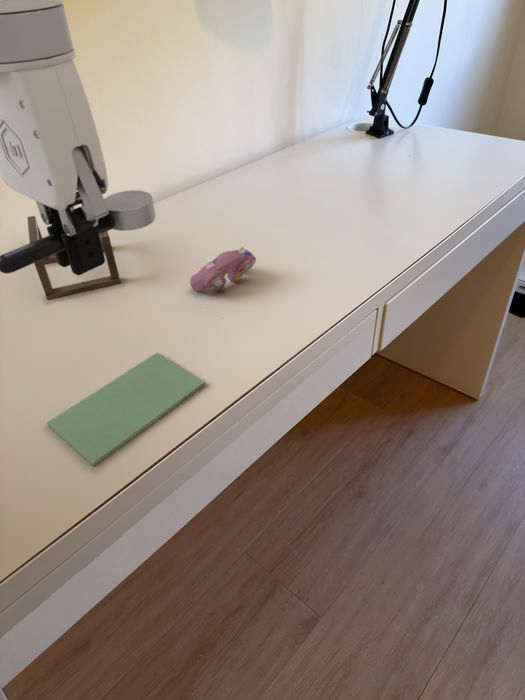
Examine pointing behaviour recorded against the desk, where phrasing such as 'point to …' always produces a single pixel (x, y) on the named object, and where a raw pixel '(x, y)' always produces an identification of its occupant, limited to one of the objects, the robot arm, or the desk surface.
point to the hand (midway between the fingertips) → (82, 263)
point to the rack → (78, 287)
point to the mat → (124, 407)
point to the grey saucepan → (123, 215)
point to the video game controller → (223, 269)
